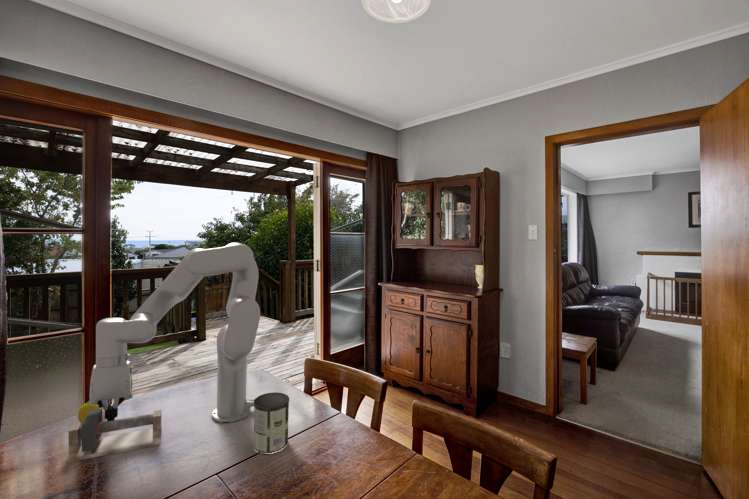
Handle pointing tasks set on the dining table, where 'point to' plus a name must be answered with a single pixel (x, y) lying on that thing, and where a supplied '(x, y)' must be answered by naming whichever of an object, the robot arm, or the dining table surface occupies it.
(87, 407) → the lemon
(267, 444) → the coffee can
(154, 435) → the pipe stand
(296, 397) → the dining table surface
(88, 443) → the grey frame
